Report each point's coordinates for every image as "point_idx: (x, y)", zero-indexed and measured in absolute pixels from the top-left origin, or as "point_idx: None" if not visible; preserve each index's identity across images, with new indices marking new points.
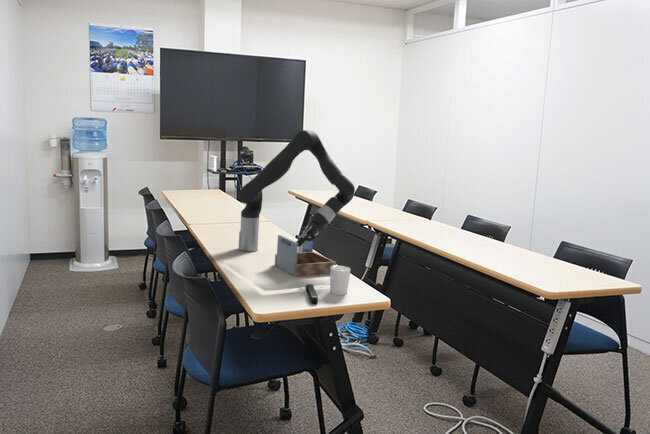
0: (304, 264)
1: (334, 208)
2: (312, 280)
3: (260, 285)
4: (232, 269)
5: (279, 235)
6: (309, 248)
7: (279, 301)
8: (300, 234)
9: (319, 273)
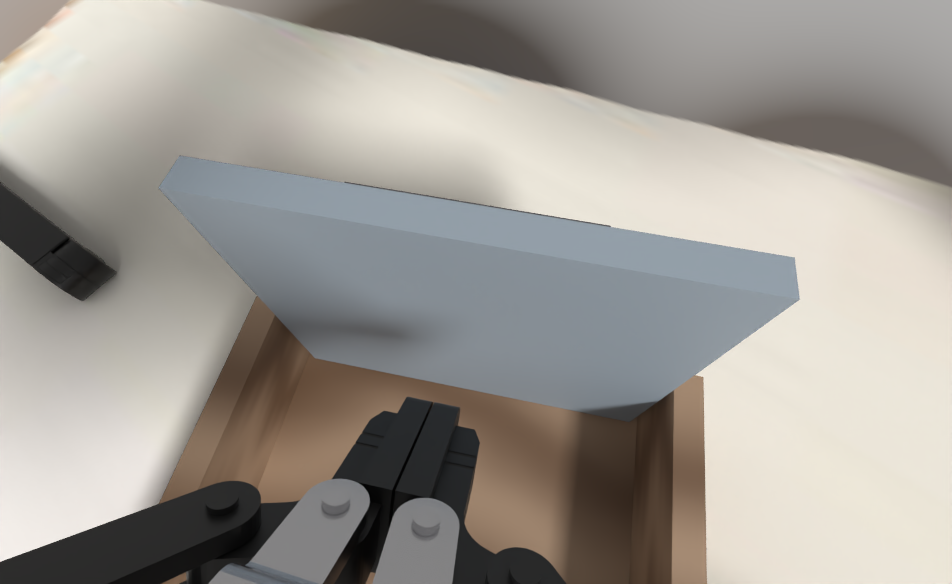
0: (220, 377)
1: None
2: None
3: (356, 130)
4: (701, 161)
5: (750, 256)
6: None
7: (121, 80)
8: (504, 566)
9: None
